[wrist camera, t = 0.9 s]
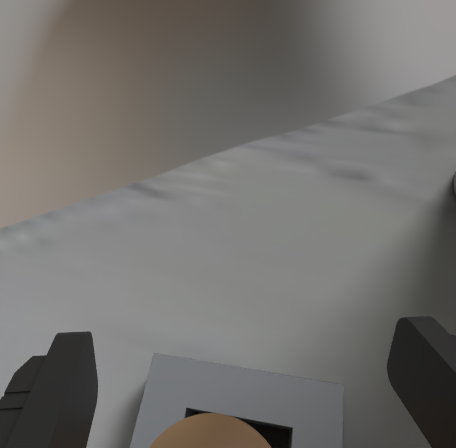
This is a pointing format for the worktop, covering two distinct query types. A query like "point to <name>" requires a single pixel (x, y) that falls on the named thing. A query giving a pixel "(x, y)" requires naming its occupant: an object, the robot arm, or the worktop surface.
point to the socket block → (239, 401)
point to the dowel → (210, 433)
